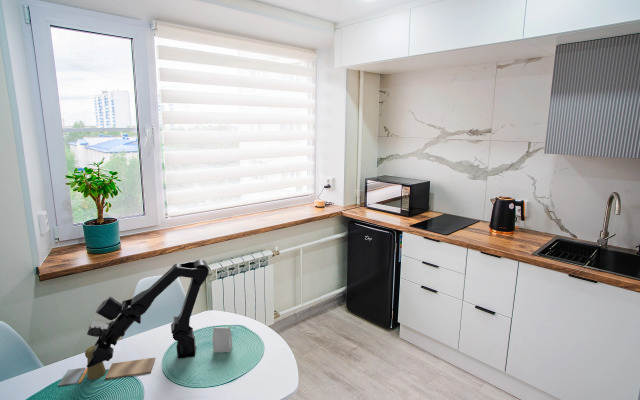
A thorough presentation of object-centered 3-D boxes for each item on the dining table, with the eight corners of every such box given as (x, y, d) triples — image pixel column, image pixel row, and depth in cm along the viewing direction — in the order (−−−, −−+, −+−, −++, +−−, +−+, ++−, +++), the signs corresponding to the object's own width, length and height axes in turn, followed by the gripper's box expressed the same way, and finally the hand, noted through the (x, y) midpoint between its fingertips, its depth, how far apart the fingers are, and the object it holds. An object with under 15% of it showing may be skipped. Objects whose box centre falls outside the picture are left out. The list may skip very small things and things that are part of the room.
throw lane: (155, 358, 144) (155, 357, 144) (150, 372, 136) (150, 371, 136) (68, 370, 137) (68, 369, 137) (57, 386, 129) (57, 384, 129)
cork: (97, 380, 132) (93, 353, 129) (83, 378, 133) (78, 351, 131) (109, 369, 138) (106, 343, 135) (96, 367, 139) (92, 342, 136)
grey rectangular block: (229, 352, 148) (228, 330, 146) (213, 352, 148) (211, 330, 146) (232, 347, 151) (231, 325, 149) (216, 346, 152) (214, 325, 150)
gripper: (104, 303, 140) (74, 335, 138) (96, 327, 123) (63, 364, 121) (129, 317, 145) (101, 348, 143) (125, 343, 128) (93, 378, 126)
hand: (89, 359), depth 133 cm, fingers open, 9 cm apart
